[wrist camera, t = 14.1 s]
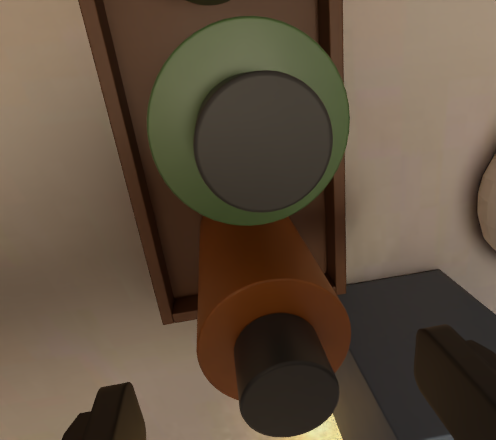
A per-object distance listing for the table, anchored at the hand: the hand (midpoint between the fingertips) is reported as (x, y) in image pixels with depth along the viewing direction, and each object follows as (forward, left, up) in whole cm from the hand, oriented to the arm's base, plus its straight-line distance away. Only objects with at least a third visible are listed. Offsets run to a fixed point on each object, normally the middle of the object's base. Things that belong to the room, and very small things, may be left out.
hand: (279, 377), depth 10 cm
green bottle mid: (0, +7, -10) cm, 12 cm away
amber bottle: (0, 0, -10) cm, 10 cm away
